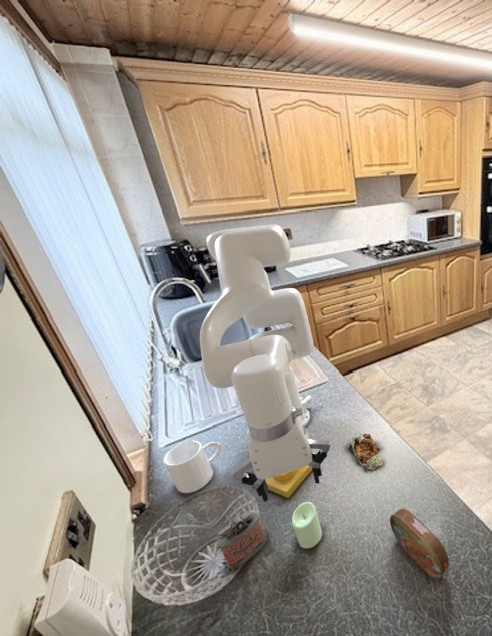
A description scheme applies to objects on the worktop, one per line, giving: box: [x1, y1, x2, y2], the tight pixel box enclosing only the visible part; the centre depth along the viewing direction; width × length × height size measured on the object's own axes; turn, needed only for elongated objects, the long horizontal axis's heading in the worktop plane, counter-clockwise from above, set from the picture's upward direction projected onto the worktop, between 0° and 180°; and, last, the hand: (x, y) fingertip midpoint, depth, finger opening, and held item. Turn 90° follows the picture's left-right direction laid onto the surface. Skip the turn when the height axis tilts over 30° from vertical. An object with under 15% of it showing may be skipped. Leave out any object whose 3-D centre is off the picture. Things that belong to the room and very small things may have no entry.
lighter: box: [216, 510, 268, 570], centre depth 71 cm, size 8×3×10 cm, turn 141°
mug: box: [162, 440, 222, 494], centre depth 89 cm, size 8×12×10 cm
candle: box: [291, 501, 323, 549], centre depth 74 cm, size 5×5×8 cm
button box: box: [265, 465, 313, 499], centre depth 90 cm, size 10×10×4 cm
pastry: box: [347, 433, 384, 471], centre depth 95 cm, size 7×12×4 cm, turn 39°
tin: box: [389, 508, 450, 580], centre depth 70 cm, size 15×3×8 cm, turn 44°
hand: (292, 486), depth 69 cm, fingers open, 9 cm apart
